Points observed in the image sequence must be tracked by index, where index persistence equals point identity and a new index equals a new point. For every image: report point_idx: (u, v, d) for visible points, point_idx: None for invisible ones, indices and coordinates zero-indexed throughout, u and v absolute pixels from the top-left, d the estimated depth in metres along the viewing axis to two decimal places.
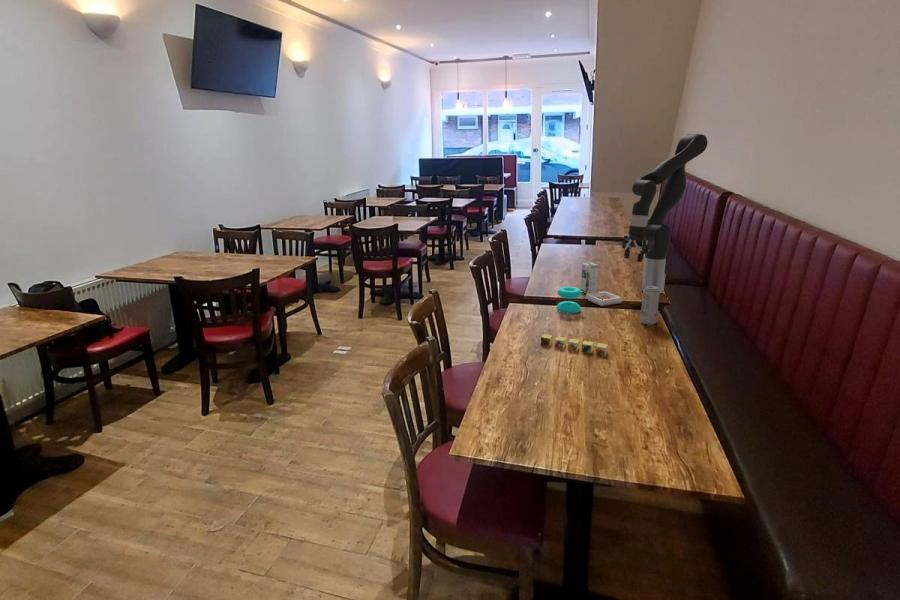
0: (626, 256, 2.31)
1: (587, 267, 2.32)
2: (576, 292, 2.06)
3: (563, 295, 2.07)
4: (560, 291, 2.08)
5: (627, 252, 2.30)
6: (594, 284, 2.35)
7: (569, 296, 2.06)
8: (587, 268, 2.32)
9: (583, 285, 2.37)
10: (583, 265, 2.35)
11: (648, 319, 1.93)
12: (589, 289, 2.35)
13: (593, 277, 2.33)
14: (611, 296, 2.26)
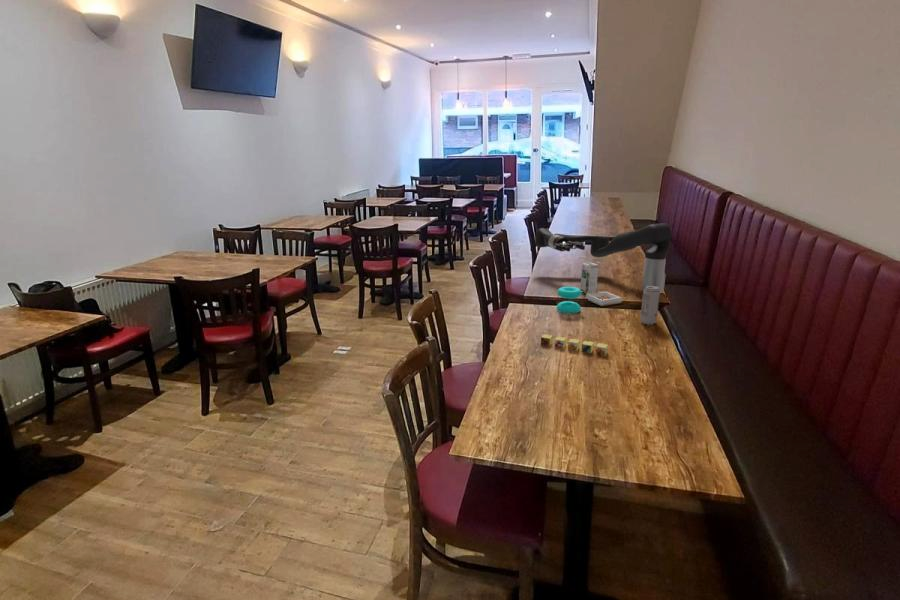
0: None
1: (587, 267, 2.32)
2: (576, 292, 2.06)
3: (563, 295, 2.07)
4: (560, 291, 2.08)
5: None
6: (594, 284, 2.35)
7: (569, 296, 2.06)
8: (587, 268, 2.32)
9: (583, 285, 2.37)
10: (583, 265, 2.35)
11: (648, 319, 1.93)
12: (589, 289, 2.35)
13: (593, 277, 2.33)
14: (611, 296, 2.26)
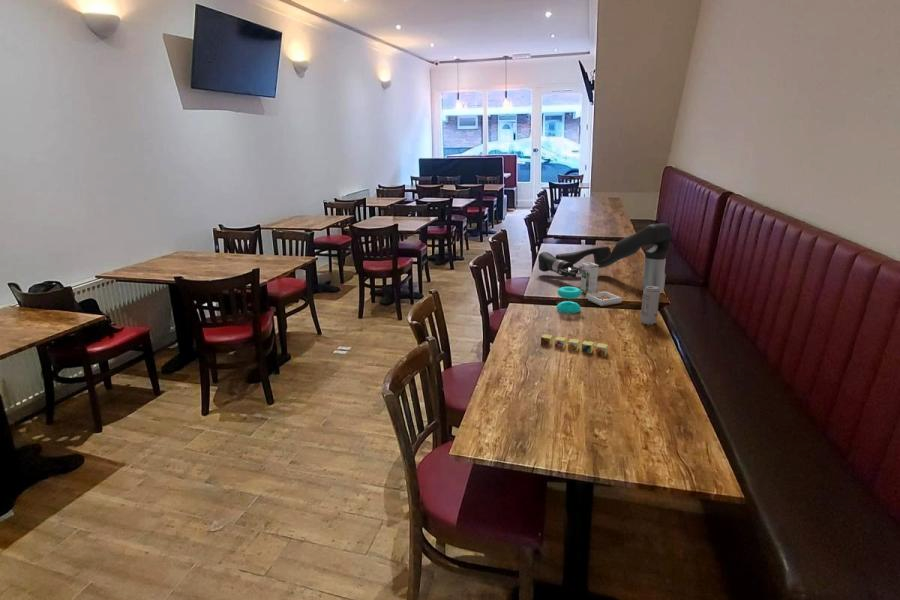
0: None
1: (587, 267, 2.32)
2: (576, 292, 2.06)
3: (563, 295, 2.07)
4: (560, 291, 2.08)
5: None
6: (594, 284, 2.35)
7: (569, 296, 2.06)
8: (587, 268, 2.32)
9: (583, 285, 2.37)
10: (583, 265, 2.35)
11: (648, 319, 1.93)
12: (589, 289, 2.35)
13: (593, 277, 2.33)
14: (611, 296, 2.26)
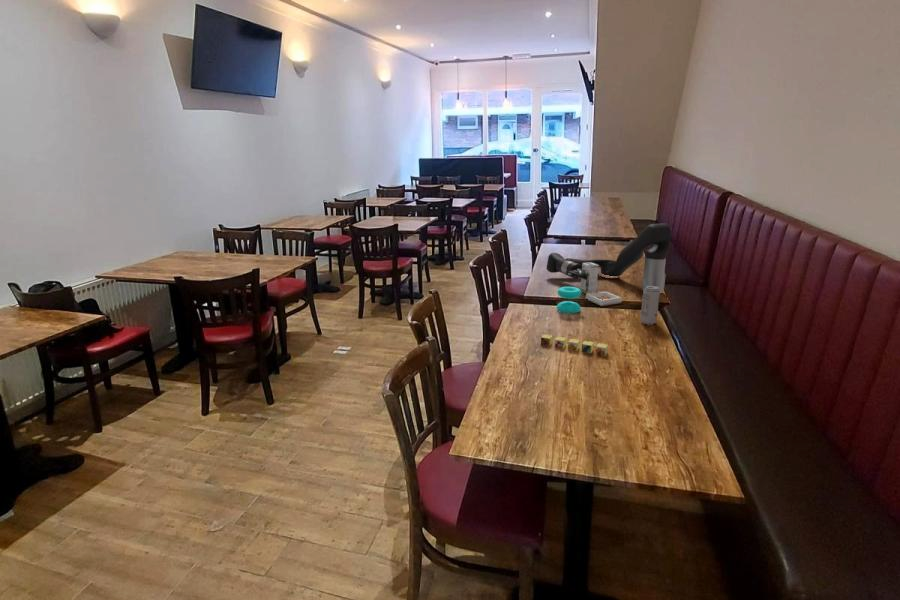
0: None
1: (587, 267, 2.32)
2: (576, 292, 2.06)
3: (563, 295, 2.07)
4: (560, 291, 2.08)
5: None
6: (594, 284, 2.35)
7: (569, 296, 2.06)
8: (587, 268, 2.32)
9: (583, 285, 2.37)
10: (583, 265, 2.35)
11: (648, 319, 1.93)
12: (589, 289, 2.35)
13: (593, 277, 2.33)
14: (611, 296, 2.26)
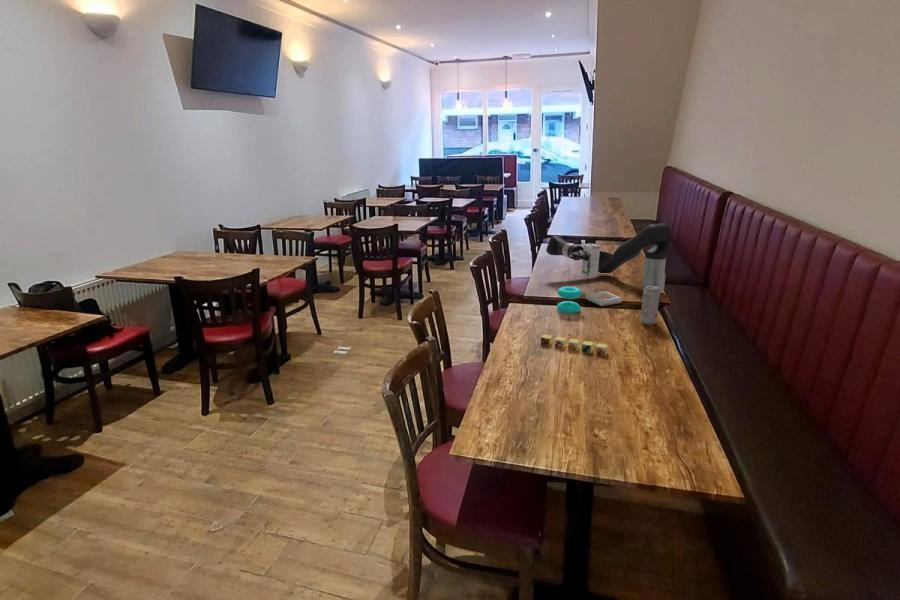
0: None
1: (589, 248, 2.29)
2: (576, 292, 2.06)
3: (563, 295, 2.07)
4: (560, 291, 2.08)
5: None
6: (596, 266, 2.32)
7: (569, 296, 2.06)
8: (589, 249, 2.29)
9: (584, 266, 2.34)
10: (584, 246, 2.32)
11: (648, 319, 1.93)
12: (591, 270, 2.32)
13: (594, 258, 2.31)
14: (611, 296, 2.26)
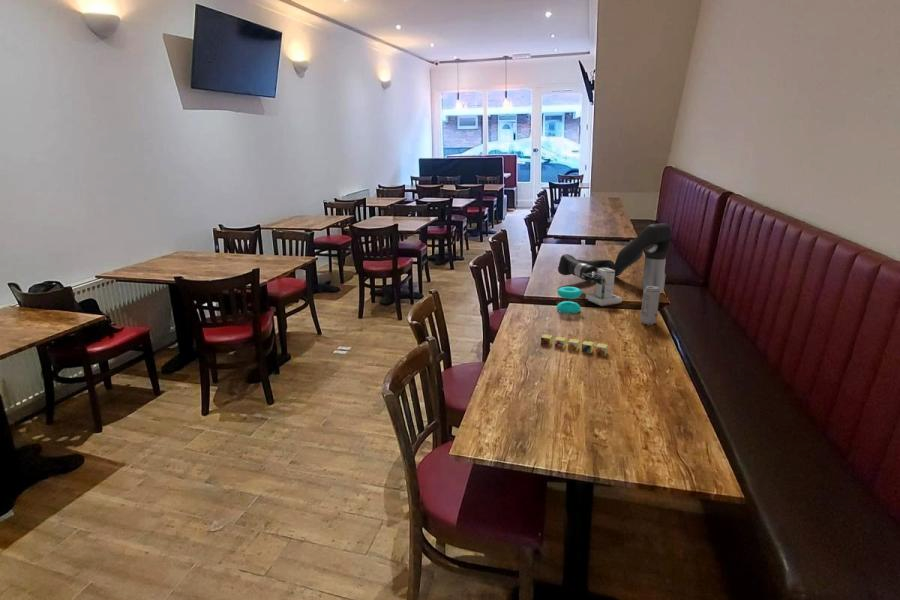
0: None
1: (603, 273, 2.19)
2: (576, 292, 2.06)
3: (563, 295, 2.07)
4: (560, 291, 2.08)
5: None
6: (610, 291, 2.22)
7: (569, 296, 2.06)
8: (603, 274, 2.19)
9: (598, 291, 2.23)
10: (598, 270, 2.22)
11: (648, 319, 1.93)
12: (605, 295, 2.22)
13: (609, 283, 2.20)
14: None
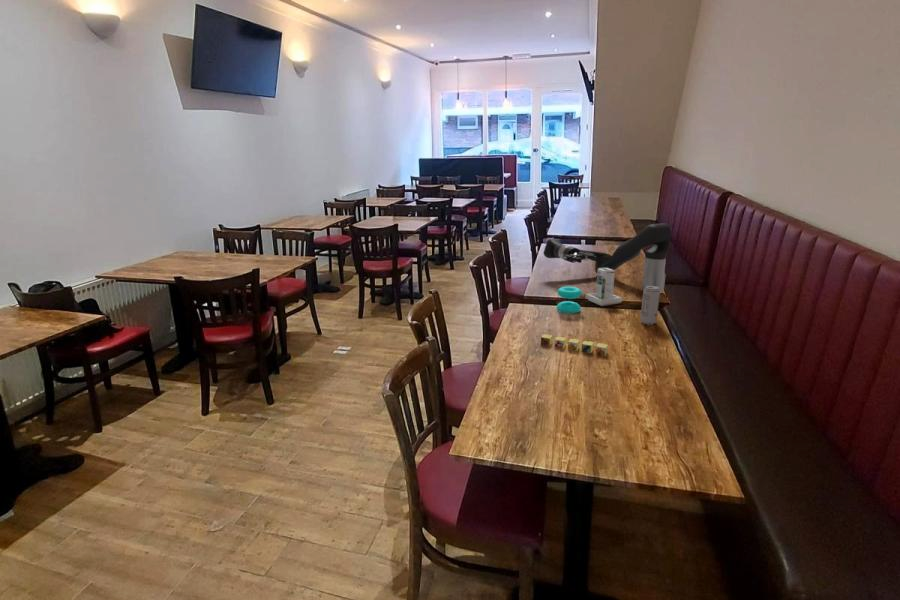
0: None
1: (603, 273, 2.19)
2: (576, 292, 2.06)
3: (563, 295, 2.07)
4: (560, 291, 2.08)
5: None
6: (610, 291, 2.22)
7: (569, 296, 2.06)
8: (603, 274, 2.19)
9: (598, 291, 2.23)
10: (598, 270, 2.22)
11: (648, 319, 1.93)
12: (605, 295, 2.22)
13: (609, 283, 2.20)
14: None
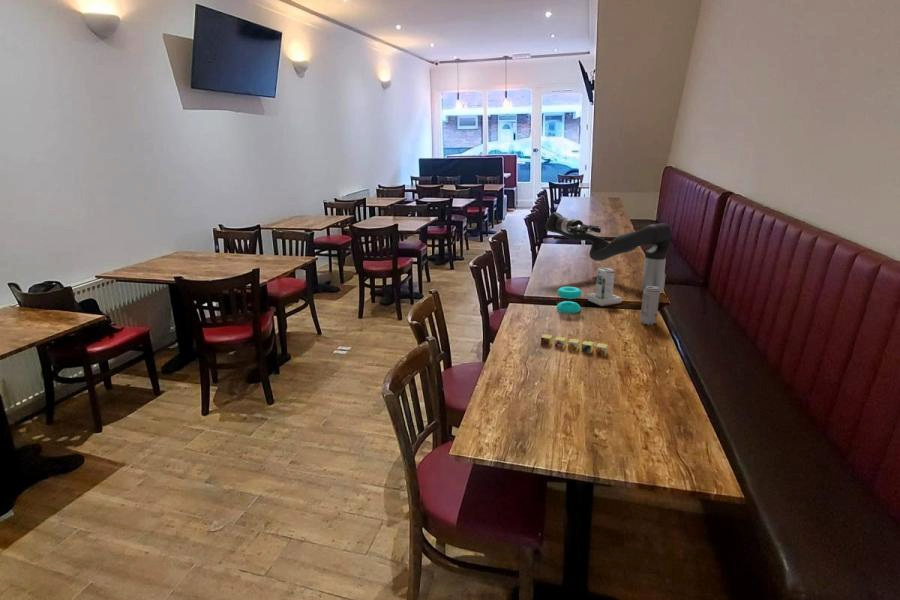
0: None
1: (603, 273, 2.19)
2: (576, 292, 2.06)
3: (563, 295, 2.07)
4: (560, 291, 2.08)
5: None
6: (610, 291, 2.22)
7: (569, 296, 2.06)
8: (603, 274, 2.19)
9: (598, 291, 2.23)
10: (598, 270, 2.22)
11: (648, 319, 1.93)
12: (605, 295, 2.22)
13: (609, 283, 2.20)
14: None
